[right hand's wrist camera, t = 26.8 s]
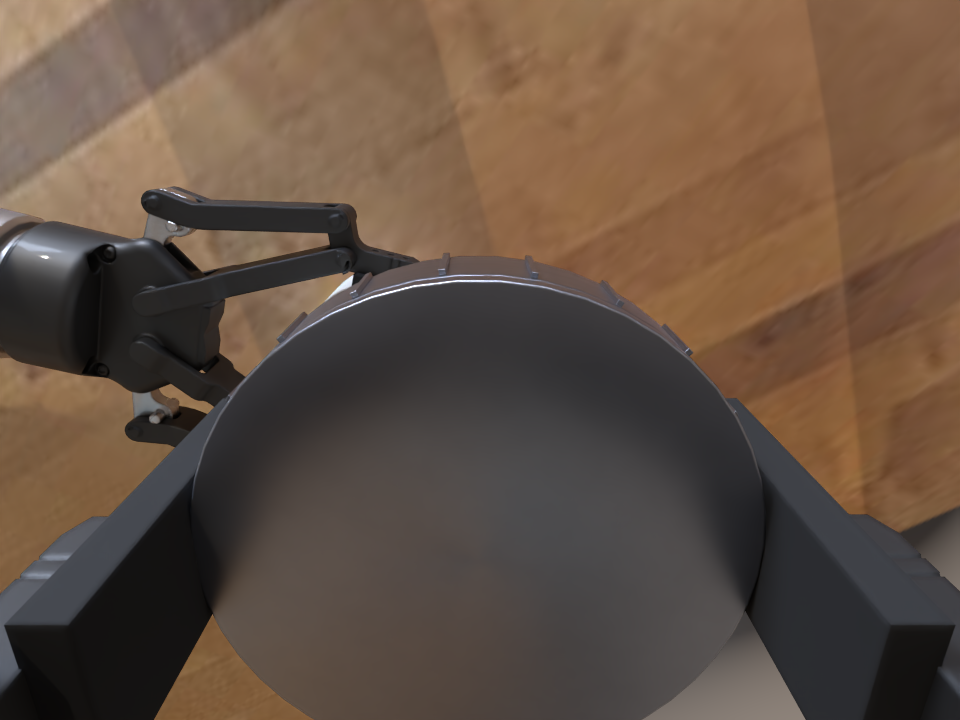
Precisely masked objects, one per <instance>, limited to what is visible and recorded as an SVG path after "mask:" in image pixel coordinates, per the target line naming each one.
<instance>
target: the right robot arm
mask: <svg viewBox="0 0 960 720" xmlns="http://www.w3.org/2000/svg"><path fill="white" fill-rule="evenodd" d="M725 399H726V400H727V402H728V403H729V404H730V405H731V406H732V407H733V408H734V409H735V410H736V412H737V414H738V419H739V421H740V423H741V425H742V427H743V429H744V431H745V433H746V436H747V438H748V440H749V442H750V444H751V446H752V448H753V452H754V455H755V459H756V462H757V466H758V469H759V473H760V476H761V480H762V487H763V495H764V504H765V512H766V516H765V542H764V550H763V555H762V560H761V565H760V570H759V575H758V579H757V581H756V584H755V587H754V590H753V593H752V595H751V598H750V601H749V604H748V606H747V608H746V610H745V611H746V613H747V615H748V616H749V618H750V620H751V622H752V624H753V625H754V627H755V629H756V631H757V633H758V634H759V636H760V638H761V640H762V642H763V643H764V645H765V647H766V649H767V651H768V652H769V654H770V656H771V658H772V660H773V661H774V663H775V665H776V667H777V669H778V670H779V672H780V674H781V676H782V678H783V680H784V681H785V683H786V685H787V687H788V689H789V690H790V692H791V694H792V696H793V698H794V699H795V701H796V703H797V705H798V707H799V708H800V710H801V712H802V714H803V716H804V717H805V719H806V720H960V591H959V590H958V589H957V588H956V587H955V586H954V585H953V584H951V583H950V582H949V581H948V580H947V579H946V578H945V577H941V576H940V574H939V573H940V572H939V571H938V570H937V569H936V568H935V567H934V566H933V565H932V564H931V563H929V562H928V561H927V560H926V559H925V558H921V554H920V553H919V552H918V551H917V550H916V549H915V548H914V547H913V546H912V545H911V544H910V543H909V542H908V541H906V540H905V539H904V538H903V537H902V536H901V535H900V534H899V533H898V532H896V531H895V530H893V529H891V528H889V527H888V526H886V525H884V524H883V523H881V522H879V521H878V520H876V519H874V518H872V517H871V516H869V515H849V514H848V513H847V512H846V511H845V510H844V509H843V508H842V507H841V506H840V505H839V504H838V503H837V502H836V501H835V500H834V499H833V498H832V496H831V495H830V494H829V493H828V492H827V491H826V490H825V489H824V488H823V487H822V486H821V485H820V484H819V483H818V482H817V481H816V480H815V479H814V478H813V477H812V476H811V475H810V474H809V473H808V472H807V471H806V470H805V469H804V468H803V466H802V465H801V464H800V463H799V462H798V461H797V460H796V459H795V458H794V457H793V456H792V455H791V454H790V453H789V452H788V451H787V450H786V449H785V448H784V447H783V446H782V445H781V444H780V443H779V442H778V441H777V440H776V439H775V438H774V437H773V435H772V434H771V433H770V432H769V431H768V430H767V429H766V428H765V427H764V426H763V425H762V424H761V423H760V422H759V421H758V420H757V419H756V418H755V417H754V416H753V415H752V414H751V413H750V412H749V411H748V410H747V409H746V408H745V407H744V405H743V404H742V403H741V402H740V401H739V400H738V399H737V398H725ZM227 402H228V401H226V398H223V399H222V400H221V401H220V402H219V403H218V404H217V405H216V406H215V407H214V408H213V409H212V410H211V411H210V412H209V413H208V414H207V415H206V416H205V417H204V419H203V420H202V421H201V422H200V423H199V424H198V425H197V426H196V427H195V428H194V429H193V430H192V431H191V432H190V433H189V434H188V435H187V436H186V437H185V438H184V439H183V440H182V441H181V442H180V443H179V444H178V445H177V446H176V447H175V448H174V450H173V451H172V452H171V453H170V454H169V455H168V456H167V457H166V458H165V459H164V460H163V461H162V462H161V463H160V464H159V465H158V466H157V467H156V468H155V469H154V470H153V471H152V472H151V473H150V474H149V475H148V476H147V477H146V478H145V479H144V481H143V482H142V483H141V484H140V485H139V486H138V487H137V488H136V489H135V490H134V491H133V492H132V493H131V494H130V495H129V496H128V497H127V498H126V499H125V500H124V501H123V502H122V503H121V504H120V505H119V506H118V507H117V508H116V509H115V511H114V512H113V513H112V514H111V515H110V516H109V517H91V518H90V519H88V520H86V521H84V522H83V523H81V524H79V525H78V526H76V527H74V528H73V529H71V530H69V531H68V532H66V533H64V534H62V535H61V536H60V537H59V538H58V539H57V540H56V541H55V542H54V543H53V544H52V545H51V546H50V547H49V548H48V549H47V550H46V551H44V552H43V553H42V554H41V555H40V556H39V560H38V561H34V562H33V563H32V564H31V565H30V566H29V567H28V568H27V569H26V570H25V571H24V572H23V573H22V574H21V577H20V579H15V580H14V581H13V582H12V583H11V584H10V585H9V586H8V587H7V588H6V589H5V590H4V591H3V592H2V593H1V594H0V720H154V718H155V717H156V715H157V713H158V711H159V709H160V708H161V706H162V704H163V702H164V700H165V699H166V697H167V695H168V693H169V691H170V690H171V688H172V686H173V684H174V682H175V681H176V679H177V677H178V675H179V673H180V672H181V670H182V668H183V666H184V664H185V663H186V661H187V659H188V657H189V655H190V654H191V652H192V650H193V648H194V646H195V645H196V643H197V641H198V639H199V637H200V636H201V634H202V632H203V630H204V628H205V627H206V625H207V623H208V621H209V619H210V618H211V616H212V612H211V610H210V608H209V606H208V604H207V601H206V599H205V596H204V593H203V589H202V585H201V581H200V576H199V570H198V565H197V560H196V555H195V550H194V544H193V539H192V533H191V523H190V508H191V500H192V492H193V484H194V477H195V474H196V471H197V467H198V464H199V461H200V457H201V454H202V450H203V447H204V444H205V442H206V440H207V438H208V436H209V434H210V432H211V430H212V428H213V426H214V424H215V422H216V420H217V417H218V415H219V414H220V412H221V411H222V409H223V408H224V406H225V405H226V403H227Z"/></svg>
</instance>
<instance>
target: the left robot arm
mask: <svg viewBox="0 0 960 720" xmlns="http://www.w3.org/2000/svg"><path fill="white" fill-rule="evenodd" d="M141 204H142V206H143V208H144V210H145V211H146V212H147V213H149V214H148V219H147V224H146V228H145V233H144V237H143V238H138V239H128V238H124V237H121V236H116V235H112V234H108V233H104V232H100V231H95V230H91V229H87V228H83V227H79V226H74V225H70V224H66V223H62V222H56V221H50V222H46V221H44V220H43V219H41V218H37V217H34V216H31V215H27V214H23V213H18V212H14V211H10V210H6V209H2V208H0V358H13V359H15V360H16V361H19V362H22V363H26V364H31V365H36V366H40V367H45V368H49V369H54V370H59V371H63V372H68V373H72V374H77V375H83V376H94V377H104V378H109V379H111V380H113V381H115V382H117V383H119V384H120V385H122V386H123V387H124V388H126V389H127V390H129V391H131V392H132V395H133V408H134V419H133V420H131V421H130V422H129V423H128V424H127V425H126V427H125V433H126V435H127V436H128V438H130V439H131V440H133V441H137V442H148V443H159V444H168V445H171V446H173V447H176V446H177V445H178V444H179V443H180V442H181V441H182V440H183V439H184V438H185V437H186V436H187V435H188V434H189V433H190V432H191V431H192V430H193V429H194V428H195V427H196V426H197V425H198V424H199V423H200V422H201V421H202V420H203V419H204V417H205V416H206V415H207V414H206V413H203V412H201V411H198V410H195V409H192V408H188V407H182V406H179V401H178V400H177V399H176V398H168V397H165V396H164V395H163V394H162V393H161V392H160V390H159V388H161V387H164V386H166V385H169V384H172V385H174V386H175V387H177V388H178V389H180V390H181V391H183V392H184V393H185V394H187V395H188V396H190V397H191V398H193V399H195V400H198V401H206V402H208V403H209V404H211V405H212V406H214V407H215V406H216V405H217V404H218V403H219V402H220V401H221V400H222V399H223V398H227V396H228V395H229V394H230V393H231V392H232V391H233V390H234V389H235V388H236V387H237V386H238V385H239V384H240V383H241V381H242V380H243V379H244V378H245V376H243V375H242V374H240V373H239V372H238V371H236V370H235V369H234V367H233V364H232V363H231V361H229V360H228V359H227V358H225V357H224V356H222V355H221V354H220V353H219V348H220V334H219V327H218V325H219V322H220V320H221V318H222V315H223V313H224V306H225V298H228V297H232V296H236V295H241V294H246V293H250V292H255V291H259V290H264V289H269V288H273V287H278V286H283V285H287V284H292V283H296V282H301V281H306V280H310V279H315V278H319V277H324V276H329V275H333V274H338V273H343V275H344V274H346V273H348V272H349V271H350V272H354V273H355V274H354V275H353V280H352V285H351V286H353V285H354V284H356V283H359V282H360V280H361V279H362V278H363V277H364V275H365V274H367V273H370V272H371V274H372V276H376V275H378V274H380V273H383V272H385V271H388V270H391V269H395V268H399V267H402V266H406V265H410V264H414V263H418V262H420V261H418V260H417V259H415V258H414V257H410V256H405V255H401V254H397V253H393V252H389V251H385V250H381V249H377V248H373V247H369V246H367V245H365V244H364V243H363V242H362V241H361V240H360V238H359V235H358V230H357V224H356V218H357V214H356V211H355V209H354V208H353V207H352V206H350V205H348V204H338V203H304V202H270V201H236V200H211V199H208V198H205V197H203V196H200V195H198V194H195V193H192V192H190V191H187V190H185V189H182V188H179V187H168V188H161V189H154V190H149V191H146V192H145V193H144V194H143V195H142V197H141ZM196 229H202V230H231V231H267V232H302V233H328V236H329V241H330V245H327V246H323V247H318V248H314V249H309V250H304V251H300V252H295V253H291V254H286V255H282V256H277V257H273V258H268V259H263V260H259V261H254V262H250V263H245V264H241V265H232V266H227V267H223V268H218V269H213V270H209V271H204V272H202V271H201V270H200V269H199V268H198V267H197V266H196V265H195V264H194V263H193V262H192V261H191V260H190V259H189V258H187V257H186V256H185V255H184V254H183V253H182V252H181V251H180V250H179V249H178V248H177V247H176V246H175V245H174V244H173V243H172V242H171V241H172V239H173V237H174V236H178V237H182V236H186V235H189V234H192V233H193V232H195V231H196ZM201 370H203V371H205V372H206V373H201V372H199V371H201Z"/></svg>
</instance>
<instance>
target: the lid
mask: <svg viewBox="0 0 960 720" xmlns="http://www.w3.org/2000/svg"><path fill="white" fill-rule="evenodd" d="M277 340H278V341H279V342H280V343H279V344H278V345H277V346H276V347H275V348H274V349H273V350H272V351H271V352H270V353H269V354H268V355H267V356H266V357H265V358H264V359H263V360H262V361H261V362H260V363H259V365H258V366H256V367H255V368H254V369H253V370H252V371H251V372H250V373H249V374H248V375H247V376H246V377H245V378H244V379H243V380H242V381H241V383H240V384H239V385H238V386H237V387H236V388H235V389H234V390H233V391H232V392H231V393H230V394H229V395H228V396H227V398H226V401H228V402H227V403H226V405H225V406H224V408H223V409H222V411H221V412H220V414H219V415H218V417H217V420H216V422H215V424H214V426H213V428H212V430H211V432H210V434H209V436H208V438H207V440H206V442H205V444H204V447H203V450H202V454H201V457H200V461H199V464H198V467H197V471H196V474H195V477H194V484H193V492H192V500H191V508H190V523H191V533H192V539H193V544H194V550H195V555H196V560H197V565H198V570H199V576H200V581H201V585H202V589H203V593H204V596H205V599H206V601H207V604H208V606H209V608H210V610H211V612H212V614H213V616H214V617H215V619H216V621H217V623H218V625H219V627H220V629H221V631H222V632H223V634H224V635H225V637H226V638H227V639H228V641H229V642H230V644H231V645H232V647H233V648H234V649H235V651H236V652H237V654H238V655H239V656H240V657H241V659H242V660H243V661H244V662H245V663H246V664H247V665H248V666H249V667H250V668H251V669H252V671H253V672H254V673H255V674H256V675H257V676H258V677H259V678H260V679H261V680H262V681H263V682H264V683H265V684H267V685H268V686H269V687H270V688H271V689H272V690H274V691H275V692H276V693H277V694H278V695H279V696H281V697H282V698H283V699H284V700H286V701H287V702H289V703H290V704H291V705H293V706H294V707H296V708H297V709H299V710H300V711H302V712H303V713H305V714H306V715H308V716H309V717H311V718H313V719H315V720H642V719H644V718H646V717H647V716H649V715H650V714H652V713H653V712H655V711H656V710H657V709H659V708H661V707H662V706H664V705H665V704H666V703H668V702H669V701H671V700H672V699H673V698H674V697H676V696H677V695H678V694H679V693H680V692H682V691H683V690H684V689H685V688H686V687H687V686H689V685H690V684H691V683H692V682H693V681H694V680H695V679H696V678H697V677H698V676H699V675H700V674H701V673H702V672H703V671H704V670H705V669H706V668H707V666H708V665H709V664H710V663H711V662H712V661H713V660H714V659H715V658H716V656H717V655H718V654H719V652H720V651H721V649H722V648H723V647H724V645H725V644H726V642H727V641H728V640H729V638H730V637H731V635H732V634H733V633H734V631H735V629H736V627H737V625H738V623H739V621H740V619H741V617H742V615H743V614H744V612H745V610H746V608H747V606H748V604H749V601H750V598H751V595H752V593H753V590H754V587H755V584H756V581H757V579H758V575H759V570H760V565H761V560H762V555H763V550H764V542H765V516H766V512H765V504H764V495H763V487H762V480H761V476H760V473H759V469H758V466H757V462H756V459H755V455H754V452H753V448H752V446H751V444H750V442H749V440H748V438H747V436H746V433H745V431H744V429H743V427H742V425H741V423H740V421H739V419H738V414H737V412H736V410H735V409H734V408H733V407H732V406H731V405H730V404H729V403H728V402H727V400H726V399H725V397H724V396H723V394H722V393H721V391H720V390H719V388H718V387H717V386H716V385H715V384H714V383H713V382H712V380H711V379H710V378H709V377H708V376H707V375H706V374H705V373H704V372H703V371H702V370H701V369H700V368H699V366H698V365H697V364H696V363H695V362H694V361H693V360H692V359H691V358H690V357H689V356H690V355H691V354H692V353H693V352H692V351H691V349H690V348H689V347H688V346H687V345H686V344H685V343H684V342H683V341H682V340H681V339H680V338H679V337H678V336H677V335H676V334H675V333H674V332H673V331H672V330H671V329H670V328H669V327H668V326H667V325H666V324H664V325H663V326H662V327H661V326H660V325H659V324H658V323H657V322H656V321H654V320H653V319H652V318H651V317H650V316H648V315H647V314H646V313H645V312H643V311H642V310H641V309H640V308H638V307H637V306H636V305H635V304H633V303H632V302H630V301H629V300H627V299H625V298H624V297H622V296H620V295H619V294H617V293H616V292H615V291H614V290H613V288H612V287H611V286H610V285H609V284H608V283H607V282H606V281H604V280H602V281H601V283H600V284H599V283H597V282H594V281H592V280H590V279H587V278H585V277H583V276H580V275H578V274H576V273H573V272H571V271H568V270H564V269H561V268H557V267H553V266H550V265H546V264H542V263H539V262H535V261H533V258H532V256H527V255H526V256H525V260H521V259H514V258H506V257H499V256H458V257H450V253H444V254H443V257H442V259H434V260H426V261H421V262H418V263H414V264H410V265H406V266H402V267H399V268H395V269H391V270H388V271H385V272H383V273H380V274H378V275H376V276H372V274H371V272H370V273H367V274H365V275H364V277H363V278H362V279H361V280H360V282H359V283H356V284H354V285H353V286H351V287H349V288H347V289H346V290H344V291H342V292H341V293H339V294H337V295H335V296H334V297H332V298H330V299H329V300H327V301H325V302H324V303H323V304H321V305H320V306H319V307H318V308H316V309H315V310H314V311H313V312H311V313H310V314H309V315H307V314H306V313H305V312H303V313H302V314H301V315H300V316H299V317H298V318H297V319H296V320H295V321H294V322H293V323H292V324H291V325H290V326H289V327H288V328H287V329H286V330H285V331H284V332H283V333H282V334H281V335H280V336H279V337H278V338H277Z"/></svg>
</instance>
